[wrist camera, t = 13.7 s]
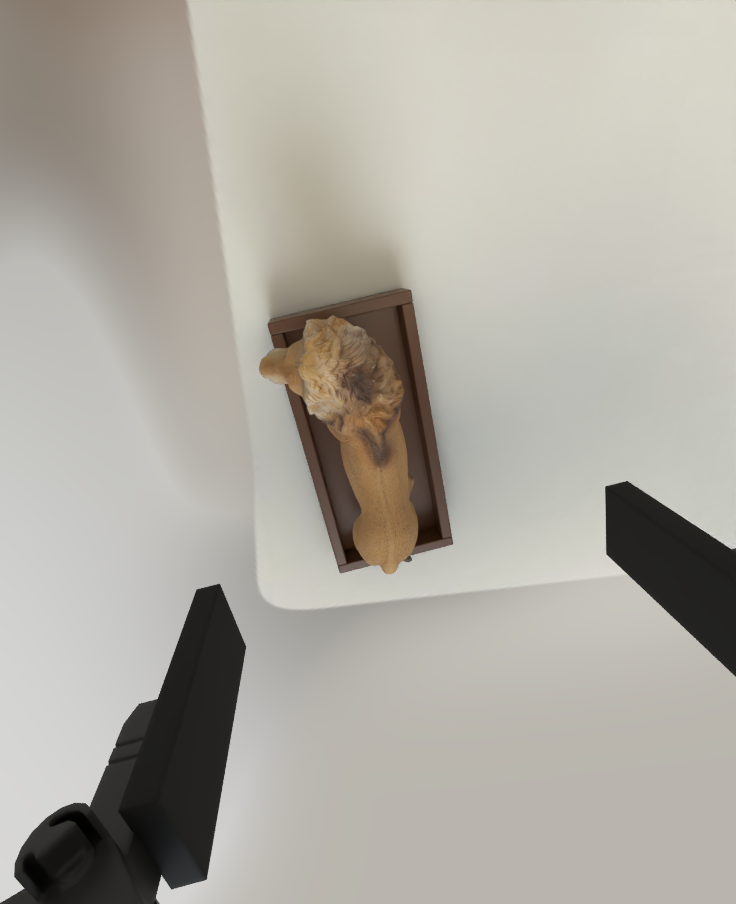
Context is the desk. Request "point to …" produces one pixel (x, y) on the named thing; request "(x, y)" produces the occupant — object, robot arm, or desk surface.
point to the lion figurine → (357, 428)
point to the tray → (398, 337)
